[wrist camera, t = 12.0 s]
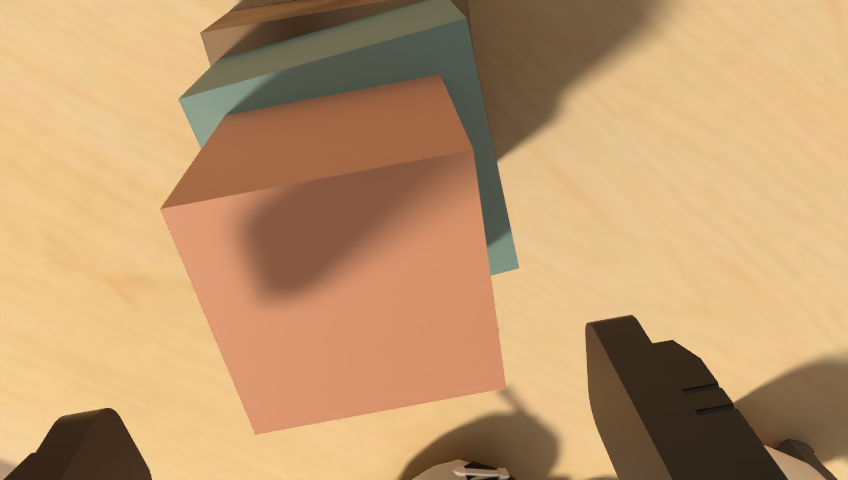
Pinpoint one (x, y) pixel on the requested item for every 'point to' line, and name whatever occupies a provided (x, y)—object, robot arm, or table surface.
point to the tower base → (292, 22)
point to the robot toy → (464, 472)
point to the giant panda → (799, 462)
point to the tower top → (366, 86)
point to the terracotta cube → (342, 254)
